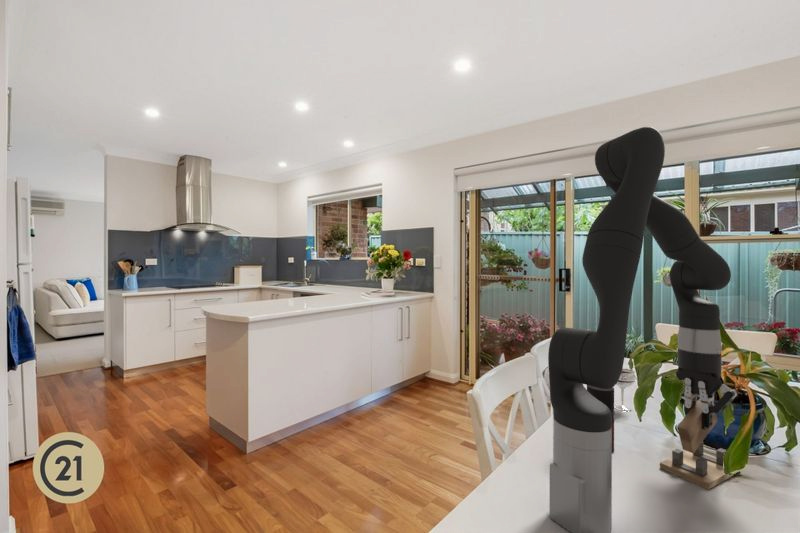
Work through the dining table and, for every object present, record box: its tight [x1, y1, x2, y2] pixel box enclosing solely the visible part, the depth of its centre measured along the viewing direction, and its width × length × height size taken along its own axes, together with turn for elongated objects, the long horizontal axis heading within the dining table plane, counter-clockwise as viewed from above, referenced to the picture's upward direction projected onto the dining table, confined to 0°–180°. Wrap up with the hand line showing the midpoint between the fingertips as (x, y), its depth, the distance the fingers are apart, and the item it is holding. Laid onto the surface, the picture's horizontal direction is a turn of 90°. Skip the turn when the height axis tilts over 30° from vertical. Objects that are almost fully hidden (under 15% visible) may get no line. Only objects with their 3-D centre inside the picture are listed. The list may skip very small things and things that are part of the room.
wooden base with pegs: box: [659, 441, 735, 490], centre depth 82 cm, size 14×9×4 cm, turn 118°
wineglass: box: [615, 367, 636, 410], centre depth 118 cm, size 7×7×12 cm
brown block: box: [676, 398, 718, 453], centre depth 81 cm, size 12×2×6 cm, turn 118°
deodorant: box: [586, 385, 615, 454], centre depth 91 cm, size 6×6×15 cm
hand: (699, 426), depth 82 cm, fingers closed on brown block, 1 cm apart
